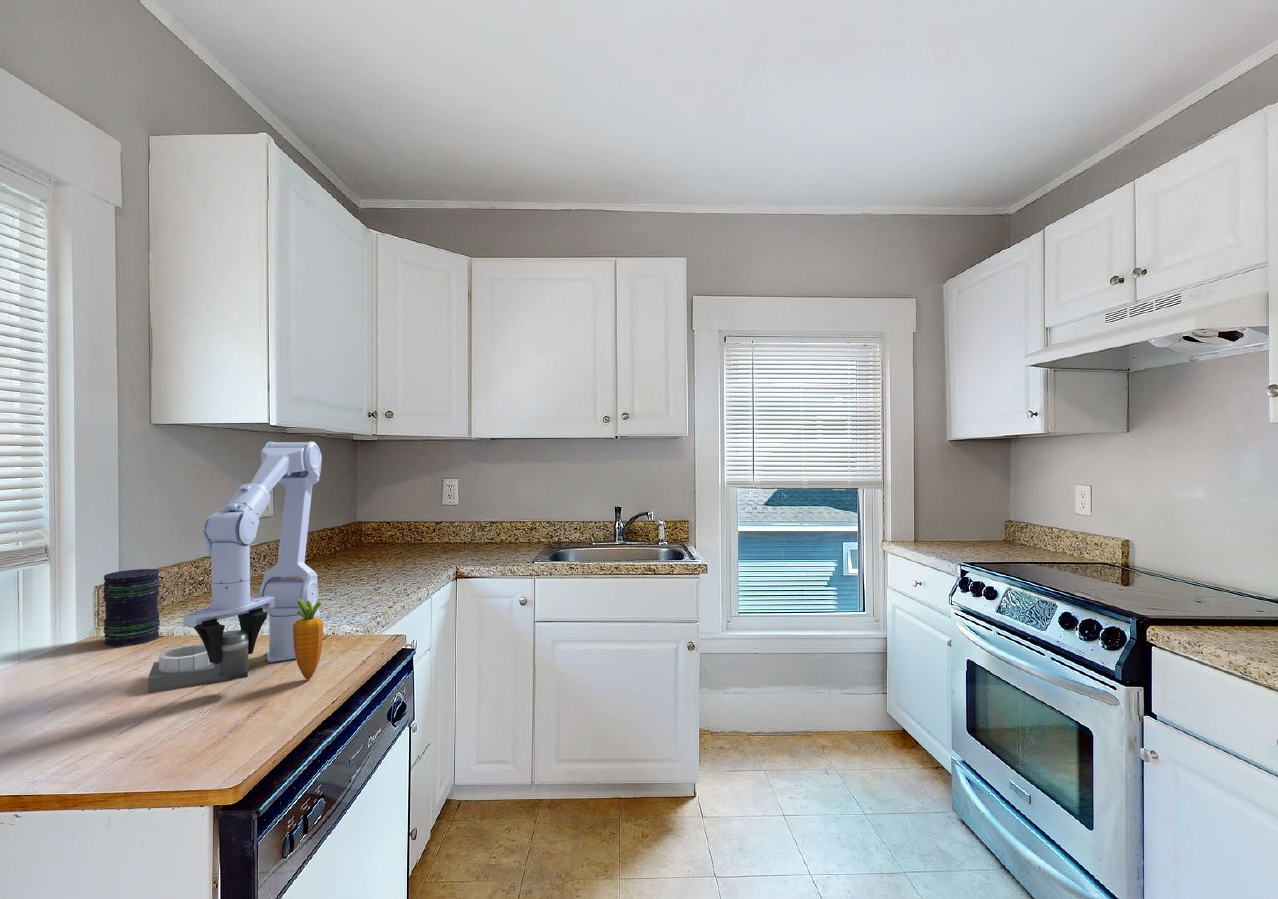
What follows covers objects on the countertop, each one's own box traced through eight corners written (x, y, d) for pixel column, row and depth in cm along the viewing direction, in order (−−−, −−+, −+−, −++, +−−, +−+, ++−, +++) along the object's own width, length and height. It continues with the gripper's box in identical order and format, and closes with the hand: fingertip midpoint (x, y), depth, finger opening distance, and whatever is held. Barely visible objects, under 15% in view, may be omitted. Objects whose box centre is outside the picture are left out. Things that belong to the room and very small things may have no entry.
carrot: (329, 676, 121) (329, 596, 121) (308, 686, 117) (307, 603, 117) (308, 673, 123) (308, 594, 123) (286, 682, 118) (286, 600, 118)
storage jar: (136, 647, 139) (136, 578, 139) (91, 647, 139) (90, 577, 139) (170, 633, 149) (170, 569, 149) (128, 633, 149) (127, 568, 149)
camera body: (247, 661, 130) (246, 636, 130) (247, 676, 122) (247, 649, 122) (154, 675, 122) (154, 648, 122) (147, 692, 114) (147, 664, 114)
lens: (248, 664, 117) (248, 628, 117) (248, 672, 113) (248, 635, 113) (215, 669, 114) (214, 632, 114) (214, 678, 110) (214, 640, 110)
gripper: (257, 570, 122) (258, 643, 122) (172, 586, 109) (173, 667, 109) (281, 574, 119) (282, 648, 119) (197, 590, 106) (197, 673, 106)
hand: (231, 657), depth 114 cm, fingers closed on lens, 5 cm apart
